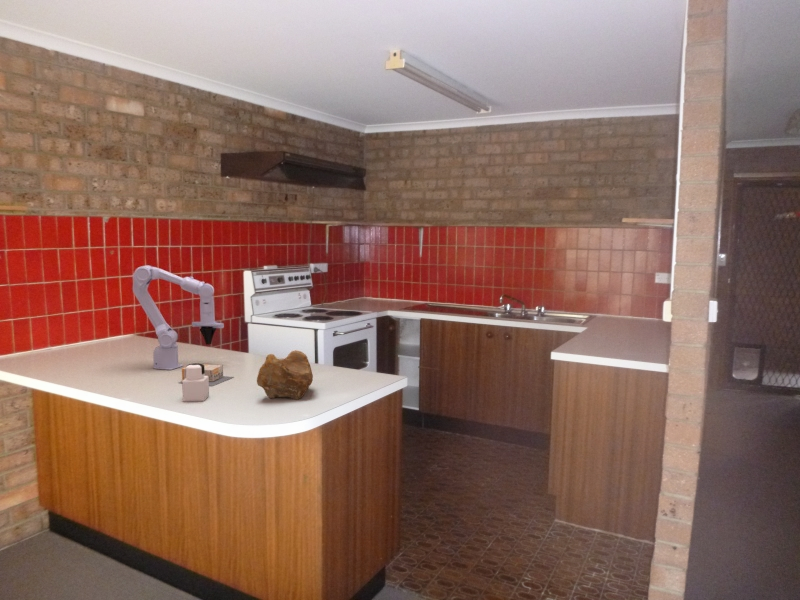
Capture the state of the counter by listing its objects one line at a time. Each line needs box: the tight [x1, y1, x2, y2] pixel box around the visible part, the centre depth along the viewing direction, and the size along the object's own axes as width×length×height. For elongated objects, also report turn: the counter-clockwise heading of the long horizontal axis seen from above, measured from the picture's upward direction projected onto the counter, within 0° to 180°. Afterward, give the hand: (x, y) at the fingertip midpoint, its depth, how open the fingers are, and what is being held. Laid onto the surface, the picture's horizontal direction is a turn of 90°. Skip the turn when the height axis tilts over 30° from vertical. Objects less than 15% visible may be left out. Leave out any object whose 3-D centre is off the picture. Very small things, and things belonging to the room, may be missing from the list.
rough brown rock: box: [256, 349, 314, 400], centre depth 204 cm, size 23×17×15 cm
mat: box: [178, 375, 235, 387], centre depth 225 cm, size 15×14×1 cm
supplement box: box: [181, 363, 224, 381], centre depth 227 cm, size 8×5×13 cm
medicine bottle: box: [181, 362, 210, 402], centre depth 200 cm, size 7×7×12 cm
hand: (208, 344), depth 249 cm, fingers closed
